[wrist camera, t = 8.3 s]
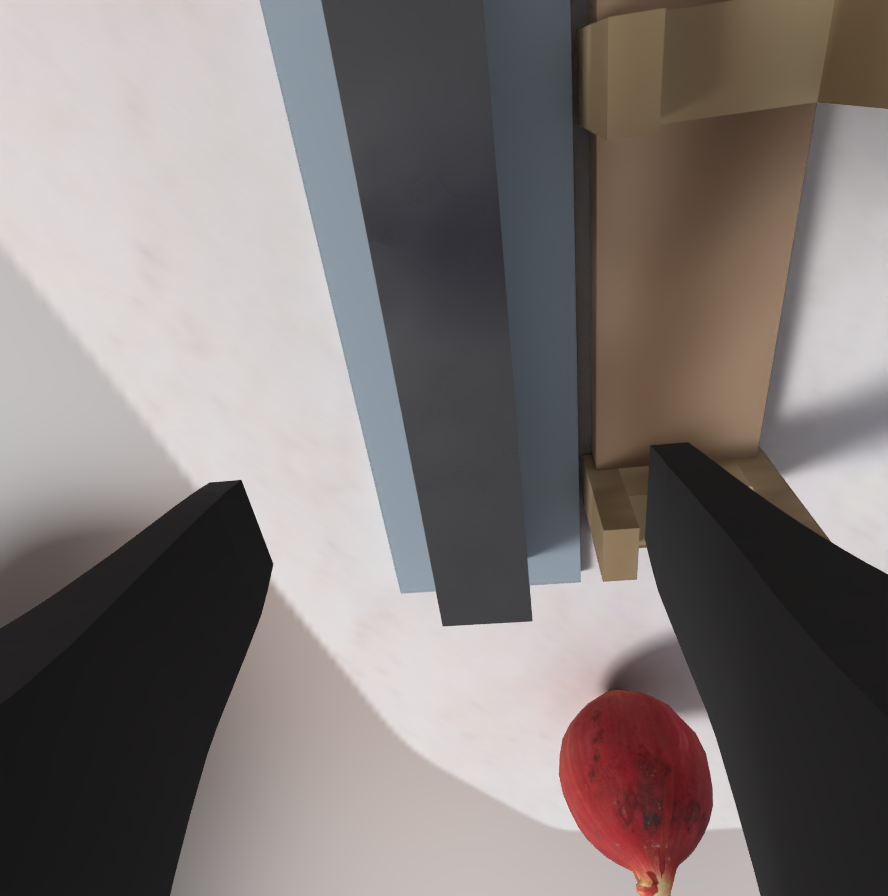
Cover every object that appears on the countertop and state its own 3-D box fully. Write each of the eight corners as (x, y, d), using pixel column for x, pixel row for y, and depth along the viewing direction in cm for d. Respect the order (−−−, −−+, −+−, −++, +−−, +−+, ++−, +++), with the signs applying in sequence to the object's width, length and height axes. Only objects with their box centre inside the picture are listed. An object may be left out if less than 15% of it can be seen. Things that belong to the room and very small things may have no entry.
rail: (475, -60, 13) (475, -92, 10) (526, 558, 22) (532, 621, 20) (341, -36, 13) (309, -61, 11) (446, 564, 23) (442, 626, 20)
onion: (557, 645, 26) (587, 851, 19) (693, 651, 25) (772, 861, 19) (544, 727, 29) (565, 929, 22) (665, 732, 29) (725, 937, 22)
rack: (842, -99, 13) (1052, -196, 8) (740, 521, 22) (813, 645, 17) (575, -52, 13) (628, -116, 9) (583, 532, 22) (611, 655, 18)
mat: (563, -174, 12) (567, -183, 12) (578, 572, 23) (580, 582, 23) (240, -110, 13) (232, -116, 13) (402, 584, 24) (400, 593, 24)
